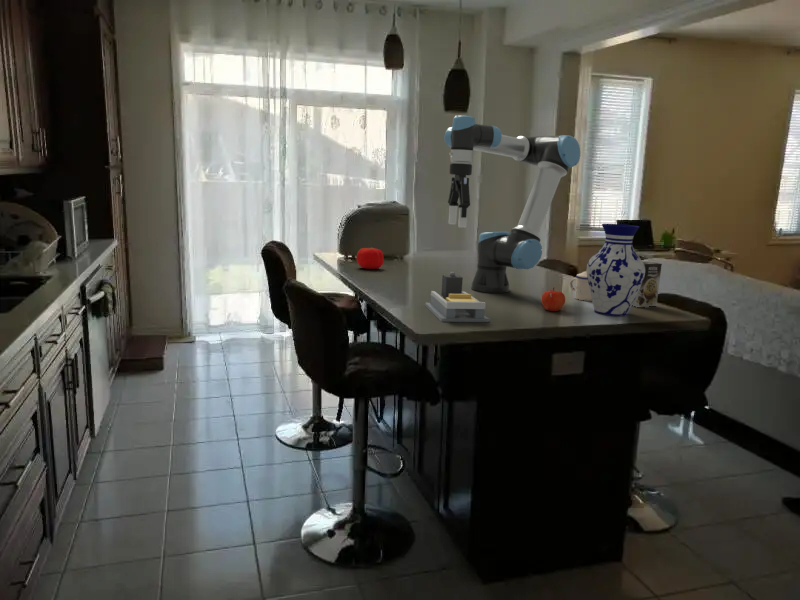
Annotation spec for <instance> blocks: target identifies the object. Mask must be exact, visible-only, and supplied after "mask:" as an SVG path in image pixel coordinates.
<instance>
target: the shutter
mask: <svg viewBox="0 0 800 600" xmlns="http://www.w3.org/2000/svg"><path fill="white" fill-rule="evenodd" d="M471 296H472V294H471V293H468V294H449V297H446V301H447V302H478V301H479V300H478V301H476V300H475V299H476V298H475V297H474V298H475V299H474V298H471Z"/></svg>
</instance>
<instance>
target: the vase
mask: <svg viewBox="0 0 800 600" xmlns="http://www.w3.org/2000/svg"><path fill="white" fill-rule="evenodd" d="M601 226H602V228H603V231H604V235H605V240H604V244H603V245H602V247H601V248H600V249H599V250H598V251H596V253H595V254H594V255H592V256H591V257H590V258H589V260H588V262H587V265H586V270H587V278H588V284H589V288H590V293H591V298H592V301H591V303H592V307H593V310H594V313H597V314H599V315H605V316H613V317H625V315H626V316H628V314H629V312H630V310H631V307H633V306H632V304H633V301H634V299H635V297H636V295H637V293H638V291H639V289H640V286H641V284H642V282H643V279H644V276H645V266H644V263H643V262H644V261H643V260H642V259H641V258H640V256H639V254H637V252H636V250H635V249H634V246H633V240H634V236H635V234H637V232H638V230H639V228H640V226H638V225H632V224H623V223H622V224H621V223H620V224H619V223H601Z"/></svg>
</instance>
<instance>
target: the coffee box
mask: <svg viewBox="0 0 800 600" xmlns="http://www.w3.org/2000/svg"><path fill="white" fill-rule="evenodd" d="M642 262H643V263H644V266H645V276H644V279H643V282H642V284H641V286H640V289H639V291H638V293H637V295H636V297H635V299H634V301H633V304H632V305H633V306H632V307H634V306H636V307H635V308H637V307H645V308H650V307H649V306H656V307H657V304H658V296H659V288H660V280H661V273H662V265H663V264H662V263H660V262H652V261H651V262H650V261H642Z"/></svg>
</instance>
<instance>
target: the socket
mask: <svg viewBox="0 0 800 600" xmlns="http://www.w3.org/2000/svg"><path fill="white" fill-rule="evenodd" d="M462 294H469V293H468V292H466V291H462ZM471 298H474V299H475V300H476V301H478V302H447V301H446V300H445V299H444V298H443V296H442V295H440V294H439V293H438V292H436V291H435V290H431V291H430V298H429V302H425V303H424V306H425V307H426V308H427V310H429V311H430V312H431V313H432V314H433V315H434V316H435V317H436V319H438V320H439V321H440V322H442V323H443V322H444V323H446V322H447V323H448V322H450V323H451V322H453V323H490V318H489V317H487V316H486V315H485V314H486V313H485V311H486V302H485V301H479V299H477V298H475V297H474V296H472V295H471Z"/></svg>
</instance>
